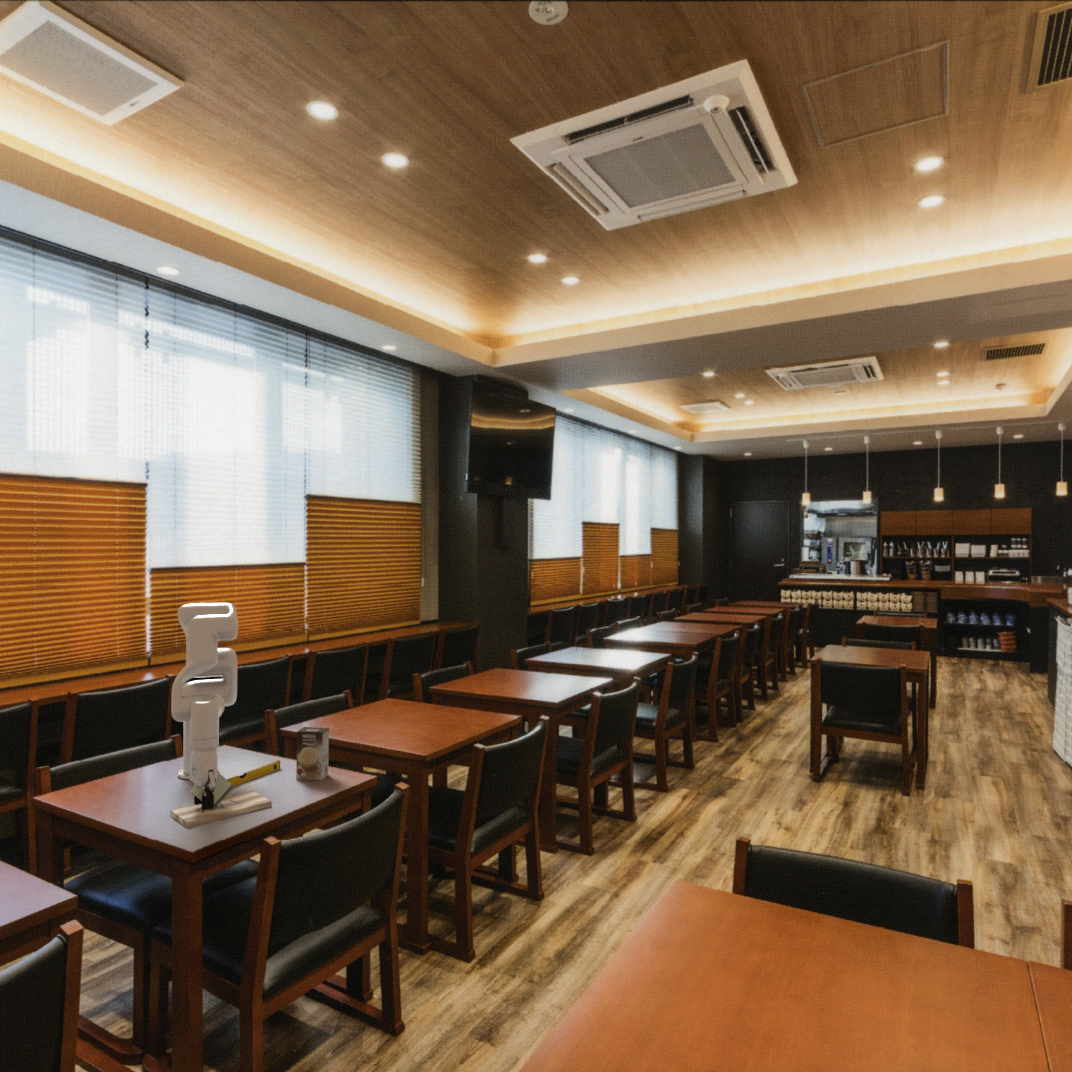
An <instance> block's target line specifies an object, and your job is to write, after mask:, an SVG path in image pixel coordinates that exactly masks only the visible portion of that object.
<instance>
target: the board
mask: <svg viewBox="0 0 1072 1072" xmlns="http://www.w3.org/2000/svg"><path fill="white" fill-rule="evenodd" d="M271 807H272V800H270V799H268V798H267V797H264V796H263V795H261V794H259V793H258V792H256V791H254V790H251V791H247V792H243V793H238V794H237V793H236V794H233V795H230V796H225V797H224V798H223V800H222V801H221V802H220V803H219V804H218V805H217V806H216V807H215V809H214V810H213V809H207V810H202V804H198V805H195V804H191V805H187V806H183V807H182V806H181V807H179V808H174V809H171V810H170V816H171V817H172V818H173V819H175V820H176V821H177V822H179V823H180V824H181V825H183V827H185V828H186V829H187V828H191V827H195V826H199V825H204V824H208V823H211V822H214V821H215V822H216V821H219V820H223V819H227V818H231V817H235V816H238V815H243V814H246V813H251V812H254V811H258V810H262V809H266V808H271Z"/></svg>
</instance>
